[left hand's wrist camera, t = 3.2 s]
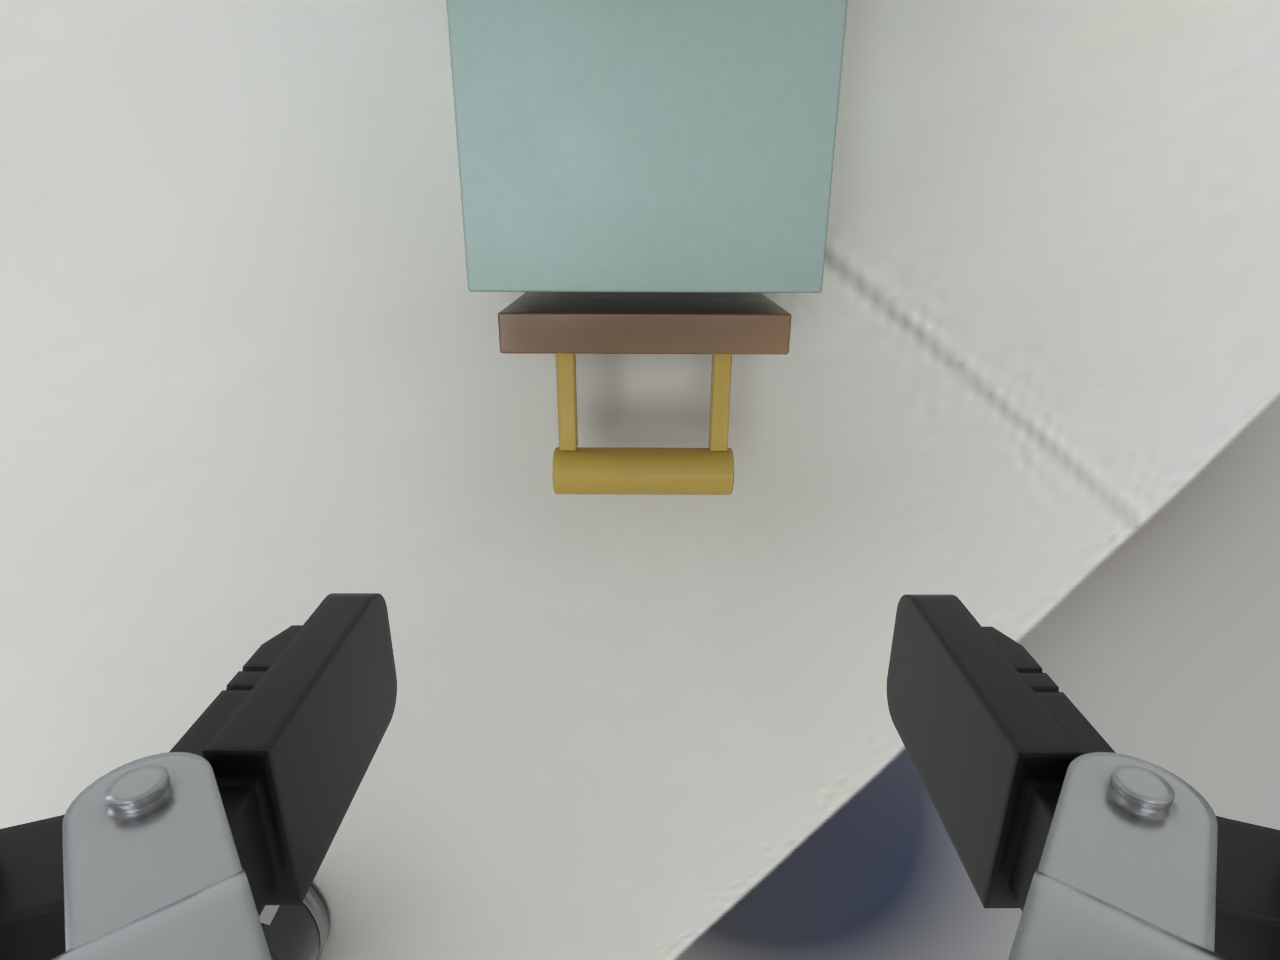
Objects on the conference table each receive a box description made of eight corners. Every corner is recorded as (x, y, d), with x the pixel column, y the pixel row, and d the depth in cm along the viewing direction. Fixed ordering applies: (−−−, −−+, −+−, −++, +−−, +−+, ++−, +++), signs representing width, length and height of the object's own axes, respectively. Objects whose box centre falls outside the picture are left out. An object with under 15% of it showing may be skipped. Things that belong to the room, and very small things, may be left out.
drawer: (749, 459, 30) (776, 520, 24) (535, 458, 30) (510, 520, 24) (788, -197, 22) (841, -341, 16) (504, -199, 22) (455, -344, 16)
